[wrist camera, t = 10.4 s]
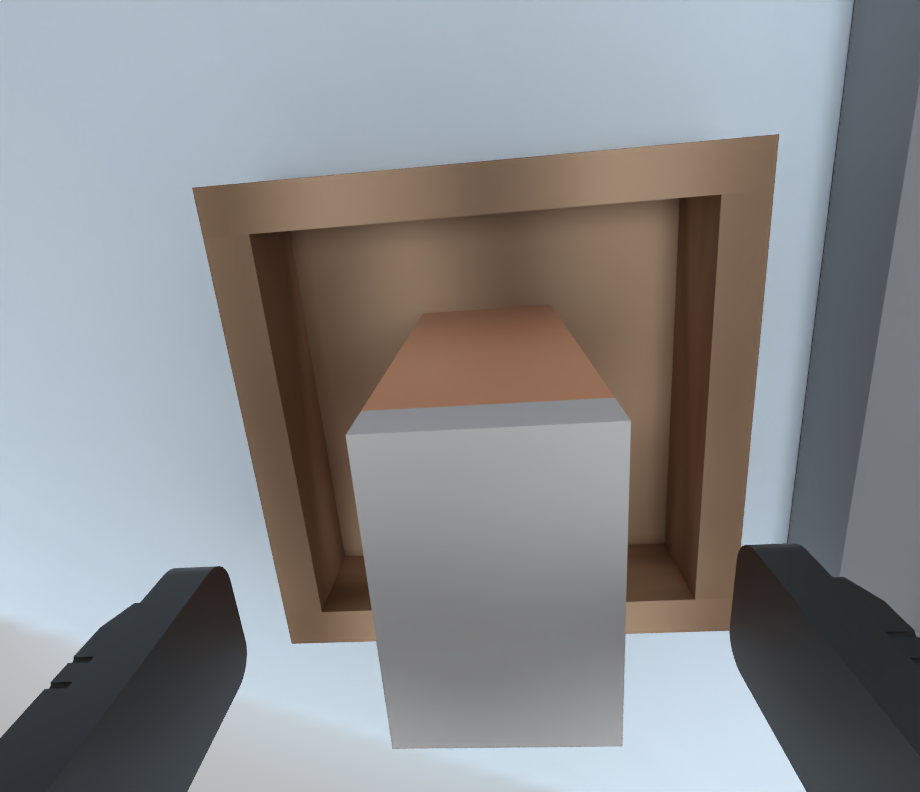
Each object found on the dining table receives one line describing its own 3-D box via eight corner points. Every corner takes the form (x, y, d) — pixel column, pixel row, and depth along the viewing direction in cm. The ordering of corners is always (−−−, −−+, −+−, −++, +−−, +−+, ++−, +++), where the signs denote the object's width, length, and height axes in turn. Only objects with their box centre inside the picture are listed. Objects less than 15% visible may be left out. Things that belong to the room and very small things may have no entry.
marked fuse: (554, 478, 19) (622, 745, 9) (439, 483, 19) (392, 748, 10) (551, 305, 17) (630, 420, 8) (423, 313, 17) (345, 435, 8)
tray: (326, 568, 22) (291, 643, 18) (256, 193, 17) (192, 187, 14) (688, 554, 21) (732, 630, 17) (711, 152, 16) (779, 134, 13)
